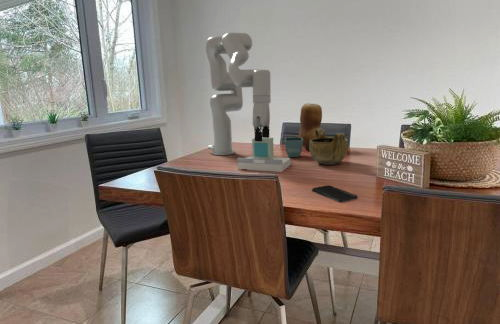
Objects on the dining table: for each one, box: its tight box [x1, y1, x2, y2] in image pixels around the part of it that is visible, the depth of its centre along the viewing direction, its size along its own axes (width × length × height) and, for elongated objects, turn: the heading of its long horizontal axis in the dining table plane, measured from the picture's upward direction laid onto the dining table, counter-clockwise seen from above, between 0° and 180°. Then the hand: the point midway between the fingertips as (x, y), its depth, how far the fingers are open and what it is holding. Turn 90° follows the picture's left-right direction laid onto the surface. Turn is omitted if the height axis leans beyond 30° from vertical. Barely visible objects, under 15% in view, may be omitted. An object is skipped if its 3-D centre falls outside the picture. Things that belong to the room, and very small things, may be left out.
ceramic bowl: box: [309, 128, 349, 166], centre depth 162 cm, size 22×17×15 cm
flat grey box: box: [237, 155, 291, 173], centre depth 160 cm, size 20×14×5 cm
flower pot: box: [284, 137, 303, 158], centre depth 180 cm, size 9×9×9 cm
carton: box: [251, 137, 275, 159], centre depth 158 cm, size 5×8×10 cm, turn 69°
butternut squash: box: [297, 102, 323, 151], centre depth 196 cm, size 14×13×25 cm
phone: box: [311, 185, 358, 203], centre depth 119 cm, size 8×1×15 cm
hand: (262, 139), depth 157 cm, fingers open, 9 cm apart
